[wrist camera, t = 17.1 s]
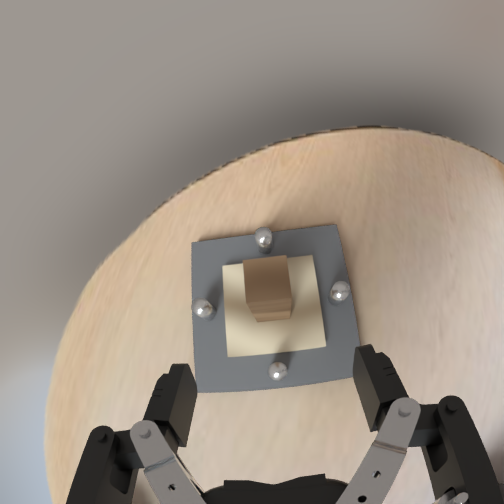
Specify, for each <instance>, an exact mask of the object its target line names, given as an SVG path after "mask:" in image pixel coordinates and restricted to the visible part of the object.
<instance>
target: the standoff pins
mask: <svg viewBox="0 0 504 504" xmlns="http://www.w3.org/2000/svg"><path fill="white" fill-rule="evenodd" d="M255 239H256V243H257V247H258V251H259V252H260V253H261V254H265V255H266V254H269V253H271V252H272V250H273V242H272V233H271V230H270V229H269V228H267V227H260V228H258V229H257V230H256V232H255ZM349 293H350V287H349V285H348V284H347V283H346V282H344V281H338V282H336V283H335V284H334V285H333V287H332V289H331V291H330V292H329V294H328V301H329V303H330V304H331V305H333V306H338V305H340V304H341V303H342V302H343V301H344V300H345V298H346V297H347V296H348V295H349ZM191 307H192V311H193V312H194V313H195V314H197V315H198V316H200V317H201V318H203V319H204V320H207V321H210V320H212V319H214V318H215V316H216V309H215V308H214V307H213V306H212V305H211V304H210V303H209V302H208V301H207V300H206V299H204V298H197V299H195V300H194V301H193V302H192V306H191ZM287 372H288V370H287V367H286V365H285V364H283V363H281V362H275V363H273V364H271V365H270V367H269V369H268V374H269V376H270V377H271V378H272V379H273V380H276V381H279V380H282V379H284V378H285V377H286V375H287Z"/></svg>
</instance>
